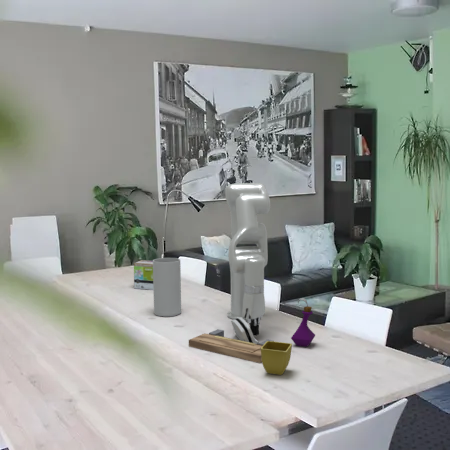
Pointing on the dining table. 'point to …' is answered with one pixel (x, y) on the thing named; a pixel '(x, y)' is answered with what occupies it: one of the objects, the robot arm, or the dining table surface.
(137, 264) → the tea box
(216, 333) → the locator block
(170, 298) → the cylinder vase
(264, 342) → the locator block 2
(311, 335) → the perfume bottle
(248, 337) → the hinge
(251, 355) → the wooden plank
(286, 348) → the flower pot
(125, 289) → the dining table surface
